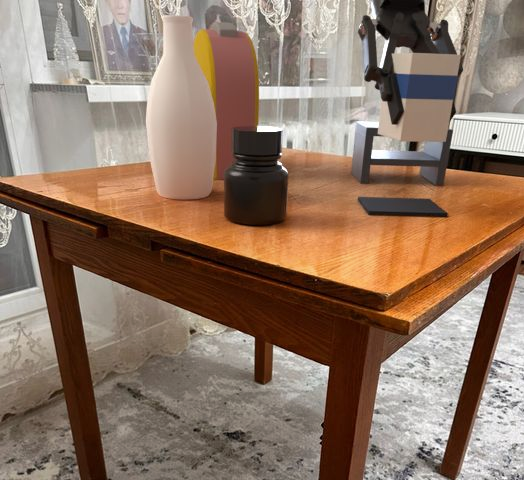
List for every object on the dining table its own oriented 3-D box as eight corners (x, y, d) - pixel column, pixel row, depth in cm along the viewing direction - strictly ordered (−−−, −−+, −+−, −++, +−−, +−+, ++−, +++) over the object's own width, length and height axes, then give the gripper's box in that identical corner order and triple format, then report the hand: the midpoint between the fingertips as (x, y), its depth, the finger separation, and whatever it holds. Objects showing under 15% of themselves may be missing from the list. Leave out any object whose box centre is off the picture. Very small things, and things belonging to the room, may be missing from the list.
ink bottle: (300, 218, 78) (306, 129, 72) (263, 230, 72) (266, 134, 66) (248, 207, 83) (249, 123, 78) (209, 218, 77) (207, 127, 71)
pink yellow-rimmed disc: (258, 178, 105) (262, 20, 93) (212, 179, 103) (210, 17, 90) (231, 161, 123) (232, 26, 111) (192, 161, 120) (187, 24, 108)
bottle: (139, 198, 87) (124, 12, 75) (165, 185, 96) (156, 19, 85) (205, 203, 85) (201, 13, 73) (225, 190, 94) (224, 20, 82)
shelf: (426, 174, 114) (434, 123, 110) (443, 185, 104) (453, 129, 99) (351, 172, 114) (356, 121, 109) (360, 183, 103) (366, 127, 99)
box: (419, 134, 86) (431, 55, 80) (446, 141, 78) (461, 54, 72) (376, 133, 84) (386, 53, 79) (399, 141, 76) (412, 52, 71)
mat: (428, 202, 90) (429, 198, 90) (447, 217, 82) (448, 213, 81) (357, 200, 90) (357, 196, 90) (368, 214, 81) (368, 210, 81)
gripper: (444, 18, 88) (474, 136, 82) (326, 12, 85) (348, 135, 78) (467, -25, 81) (502, 100, 75) (339, -34, 78) (365, 97, 71)
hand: (423, 118), depth 77 cm, fingers closed on box, 7 cm apart
